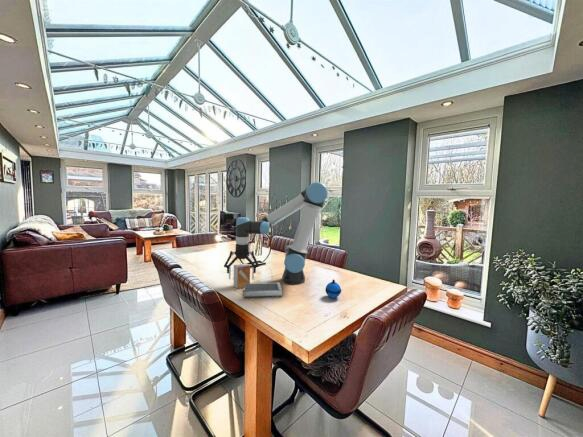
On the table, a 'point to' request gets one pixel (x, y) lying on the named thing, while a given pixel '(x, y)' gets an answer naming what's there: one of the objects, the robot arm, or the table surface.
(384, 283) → the table surface
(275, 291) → the grey rectangular tray
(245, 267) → the small box
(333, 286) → the ornament
